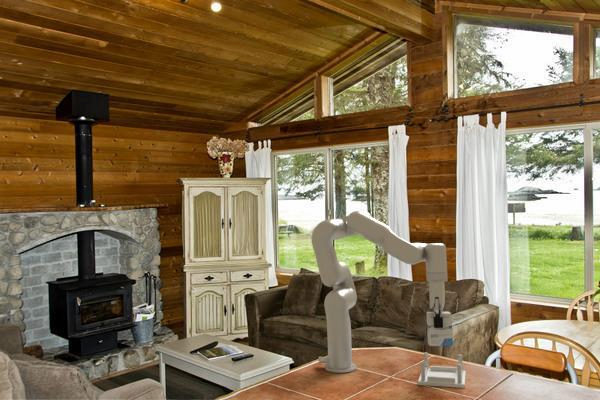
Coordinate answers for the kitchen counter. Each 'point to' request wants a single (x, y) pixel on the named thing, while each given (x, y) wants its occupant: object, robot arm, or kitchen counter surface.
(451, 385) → the tray
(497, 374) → the kitchen counter surface
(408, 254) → the robot arm
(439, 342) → the ink box
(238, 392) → the kitchen counter surface
